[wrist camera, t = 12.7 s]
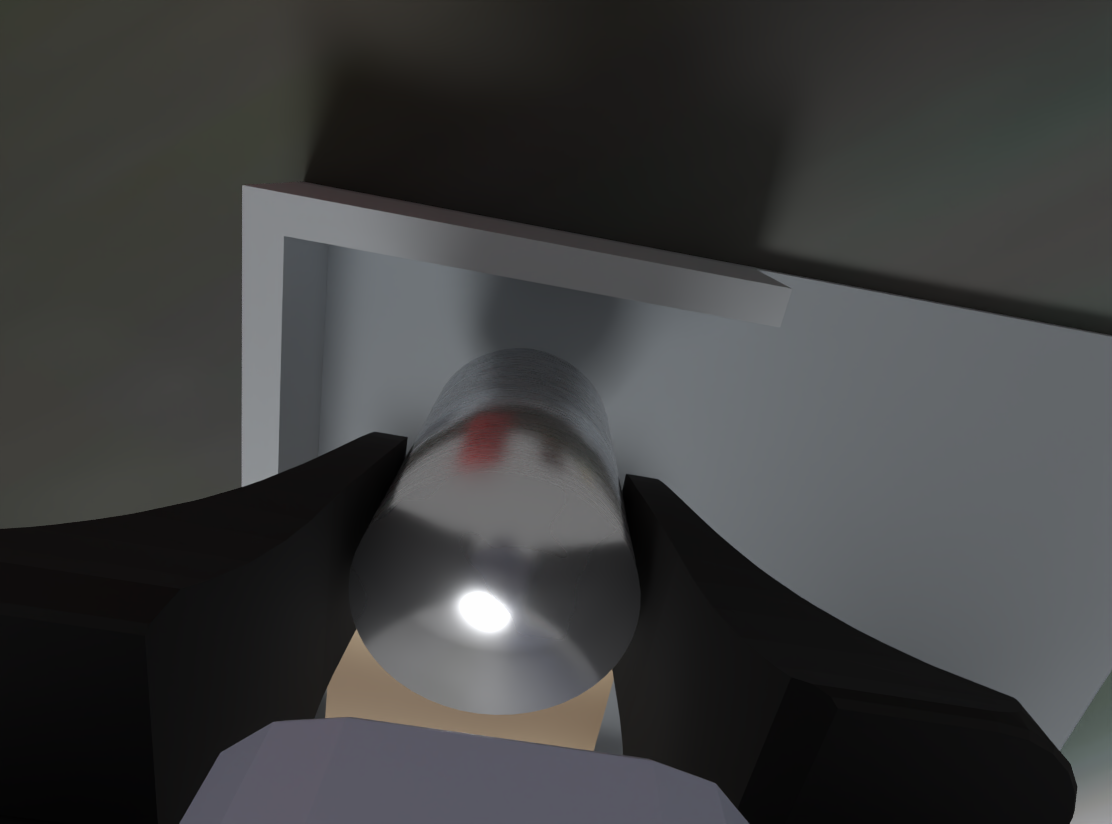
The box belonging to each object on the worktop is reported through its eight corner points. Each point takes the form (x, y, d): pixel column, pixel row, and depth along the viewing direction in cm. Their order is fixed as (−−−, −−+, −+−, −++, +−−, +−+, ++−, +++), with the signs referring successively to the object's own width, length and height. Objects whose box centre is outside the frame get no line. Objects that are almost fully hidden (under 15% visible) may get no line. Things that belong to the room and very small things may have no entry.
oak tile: (570, 736, 20) (572, 827, 18) (353, 705, 20) (320, 793, 17) (617, 555, 18) (627, 628, 15) (370, 516, 17) (333, 582, 15)
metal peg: (591, 522, 15) (609, 730, 9) (424, 498, 15) (342, 696, 9) (624, 363, 14) (669, 497, 8) (440, 334, 13) (355, 451, 8)
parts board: (987, 841, 23) (1047, 936, 20) (283, 744, 21) (241, 831, 18) (1285, 368, 16) (1436, 410, 13) (302, 181, 15) (242, 185, 12)
